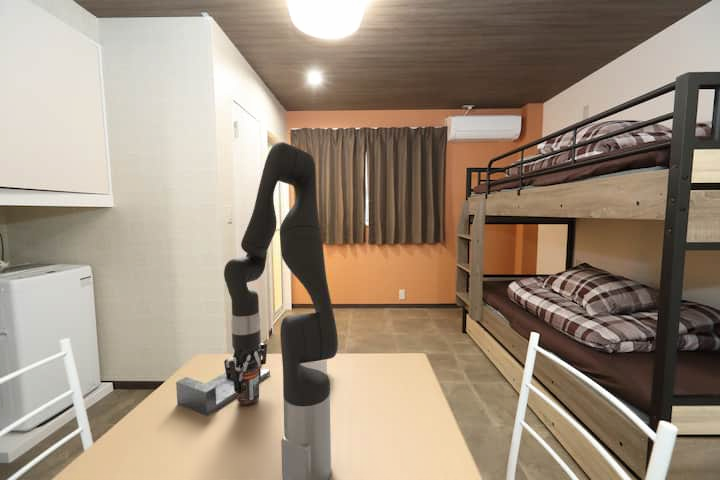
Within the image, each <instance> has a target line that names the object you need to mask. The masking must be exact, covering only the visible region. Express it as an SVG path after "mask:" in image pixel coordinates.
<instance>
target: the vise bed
mask: <svg viewBox="0 0 720 480" xmlns="http://www.w3.org/2000/svg"><path fill="white" fill-rule="evenodd" d="M270 375H271V371H270V369H266V368H264V367H262V368H261V378H260V381H259V383H260V382H261V381H263V380H264V379H266V378H267V377H268V376H270ZM231 376H232V375H231ZM175 384H176V385H175V386H176V403H177V405H178V406H181V407H183V408H185V409H189V410H190V411H193V412H196V413H199V414H201V415H204V416H206V417H207V416H209V415H211V414H212V413H214V412H215V411H217V410H218V409H220V408H222V407H223V406H225V405H226V404H228V403H229V402H231V401H232V400H234V399H235V398H237V393H236V392H235V391H234V382H233V381H229V380H227V376H226V372H225V373H224V372H223V373H222V374H220V375H219V376H218V375H217V377H215V378H212V379H210V380H209V381H208V382H202V381H200V380H196V379H193V378H190V377H187V376H185V377H183V378H181V379H179V380H177V381H175Z"/></svg>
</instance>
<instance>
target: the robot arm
mask: <svg viewBox="0 0 720 480" xmlns="http://www.w3.org/2000/svg"><path fill="white" fill-rule="evenodd" d="M316 170H317V169H316V163H315V159H314V157H313V156H312V155H311V154H310V153H309V152H308V151H306V150H303V149H301V148H298V147H296V146H294V145H292V144H289V143H286V142H284V141H278V142H275V144H273V145H272V146H271V148H270V150H269V152H268V154H267V156H266V160H265V162H264V167H263V170H262V173H261V177H260V180H259V181H260V182H259V185H258V190H257V194H256V198H255V203H254V207H253V209H252V211H253V212H252V213H251V216H250V219H249V222H248V224H247V227H246V229H245V232H244V234H243V237H242V239H241V244H240V246H241V249H242V250H243V252H245V253H246V255H245V256H243V257H237V258H233V259H230V260H228V261H227V263H226V264H225V266H224V268H223V269H224V270H223V277H224V278H223V279H224V282H225V284H226V287H227V291H228V293H229V296H230V298H231V322H230V323H231V346H232V348H233V351H234V352H233V355H232V356H233V357H232V356H231V357H232V358H231V359H229V360H228V358H226V359H224V361H223V363H224V370H225V373H226V376H227V380H229V381H233V382H234V391H235V392H236V393H239V394H241V393H243V380H242V378H243V374H244V372H245V371H246V369H247V365H248V362H250V361H252V360H254V359H255V365H256V366H257V367H258V368H259V381H260V378H261V368H263V366H264V365H266V363H267V352H268V344H267V343H264V342H262V341H261V339H262V338H261V317H260V309H259V308H260V307H259V294H258V292H257V291H255V290H251V289H249V288H248V283H250V282H254V281H256V280H259V279H260V277H261V276H262V275H263V274H264V271H265V268H266V264H267V263H266V262H267V255H268V249H269V248H270V246H271V242H272V240H273V238H274V236H275V233H276V231H277V230H276V229H277V223H278V222H277V215H276V209H275V203H274V201H275V200H274V199H275V198H274V197H275V196H274V194H275V190H276V186H277V184H278V182H281V183H284V184H287V185H289V186H292V187H293V188H294V195H295V196H294V202H293V205H292V207H291V209H289V211H288V212H287V214H286V215H285V217H284V219H283V220H282V222H281V224H280V228H279V240H280V251H281V253H280V254H281V258H282V261H283V262H284V264H285V265H286V267H287V268H288V270H289V271H290V272H291V273H292V275H294V276H295V278H296V279H297V280H298V281H299V282H300V283H301V284H302V286H303V287H304V289H305V290H306V292H307V294H308V295H309V297H310V300H311V302H312V304H313V307H314V311H315V312H311V313H301V314H291V315H287V316H284V317H283V318H282V321H281V324H280V349H281V350H280V351H281V358H282V359H281V361H282V363H281V364H282V381H283V382H282V385H283V386H282V388H283V390H282V391H283V393H282V394H283V432H284V435H283V437H282V438H281V441H280V443H281V444H280V446H281V477H282V478H281V480H330V479H331V474H332V455H331V454H332V450H331V449H332V447H331V446H332V445H331V439H332V437H331V435H332V434H331V382H330V378H329V376H328V374H327V375H326V374H325V373H323V372H322V371H319V370H316V369H311V368H307V367H304V366H302V365H300V364H301V363H307V362H314V361H320V360H326V359H327V360H330V359H333V358H335V356H336V354H337V353H338V348H339V347H338V346H339V340H338V329H337V326H336V325H337V324H336V320H335V314H334V309H333V305H332V300H331V295H330V291H329V286H328V279H327V272H326V264H325V253H324V244H323V243H324V242H323V237H322V231H321V225H320V219H319V218H320V217H319V212H318V211H319V210H318V201H317V200H318V199H317V176H316V175H317V174H316V173H317V172H316ZM239 365H240V366H243V367H242V368H239ZM238 372H239V376H238ZM231 375H232V376H231ZM260 382H261V381H260Z"/></svg>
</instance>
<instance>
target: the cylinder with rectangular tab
mask: <svg viewBox="0 0 720 480" xmlns="http://www.w3.org/2000/svg"><path fill="white" fill-rule="evenodd" d="M300 365H302V366H304V367H307V368H311V369H316V370H319V371H322V372H323V373H325V374H326V375H327V376H328V368H327V367H328V359H326V360H320V361H314V362H307V363H301V364H300Z"/></svg>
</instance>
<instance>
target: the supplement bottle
mask: <svg viewBox="0 0 720 480" xmlns="http://www.w3.org/2000/svg"><path fill="white" fill-rule="evenodd" d="M242 367H243V366H240V367H239V368H242ZM238 376H239V372H238ZM242 380H243V393H241V394H239V393H237V397H236V399H237V402H238V404H241V405H249V404H253V403H255V402H256V401H258V400H259V398H260V382H259V368H258V367H257V366H256V365H255V359H254V360H252V361H250V362H248V365H247V369H246V371H245V372H244V374H243V378H242Z"/></svg>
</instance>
